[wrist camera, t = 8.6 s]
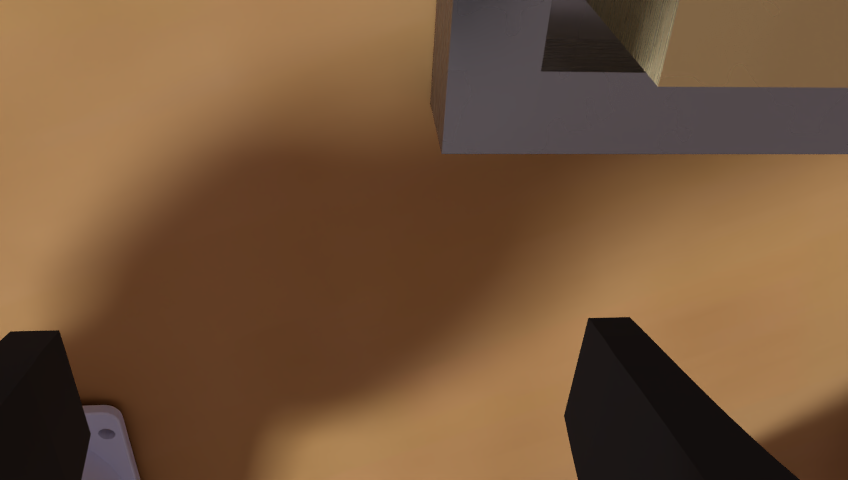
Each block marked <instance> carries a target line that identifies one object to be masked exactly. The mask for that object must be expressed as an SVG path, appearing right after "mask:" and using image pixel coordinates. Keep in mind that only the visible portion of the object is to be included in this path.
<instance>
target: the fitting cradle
mask: <svg viewBox="0 0 848 480" xmlns="http://www.w3.org/2000/svg"><path fill="white" fill-rule="evenodd" d="M430 105H431V109H432V113H433V118H434V122H435V127H436V131H437V135H438V140H439V144H440V149H441V153H442V154H848V88H818V87H658V86H657V85H656V84H655V83H654V81H653V80H652V79H651V78H650V77H649V75H648V74H647V73H646V72H645V71H644V70H643V68H642V67H641V66H640V65H639V64H638V62H637V61H636V60H635V59H634V58H633V56H632V55H631V54H630V53H629V52H628V50H627V49H626V48H625V47H624V46H623V44H622V43H621V42H620V41H619V40H618V38H617V37H616V36H615V35H614V34H613V32H612V31H611V30H610V29H609V28H608V26H607V25H606V24H605V23H604V22H603V21H602V19H601V18H600V17H599V16H598V15H597V13H596V12H595V11H594V10H593V9H592V7H591V6H590V5H589V4H588V3H587V1H586V0H437V4H436V20H435V36H434V53H433V69H432V85H431V101H430Z"/></svg>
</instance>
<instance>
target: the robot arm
mask: <svg viewBox="0 0 848 480" xmlns="http://www.w3.org/2000/svg"><path fill="white" fill-rule="evenodd" d="M564 417H565V422H566V427H567V432H568V437H569V441H570V446H571V451H572V455H573V460H574V464H575V468H576V473H577V477H578V480H799V479H798V478H797V477H796V476H795V475H794V474H792V473H791V472H790V471H789V470H788V469H787V468H786V467H784V466H783V465H782V464H781V463H780V462H779V461H777V460H776V459H775V458H774V457H773V456H772V455H770V454H769V453H768V452H767V451H766V450H765V449H764V448H763V447H762V446H761V445H760V444H758V443H757V442H756V441H755V440H754V439H753V438H752V437H751V436H750V435H749V434H747V433H746V432H745V431H744V430H743V429H742V428H741V427H740V426H739V425H738V424H737V423H736V422H735V421H734V420H733V419H731V418H730V417H729V416H728V415H727V414H726V413H725V412H724V411H723V410H722V409H721V408H720V407H719V406H718V405H717V404H716V403H715V402H714V401H713V400H712V399H711V398H710V397H709V396H708V395H707V394H706V393H705V392H704V391H703V390H702V389H701V388H700V387H699V386H698V385H697V384H696V383H695V382H694V381H693V380H692V379H691V378H690V377H689V376H688V375H687V374H686V373H685V372H684V371H683V370H682V369H681V368H680V367H679V366H678V365H677V364H676V363H675V362H674V361H673V360H672V359H671V358H670V357H669V356H668V355H667V354H666V353H665V352H664V351H663V350H662V349H661V348H660V347H659V346H658V345H657V344H656V343H655V342H654V341H653V340H652V339H651V338H650V337H649V336H648V335H647V334H646V333H645V332H644V331H643V330H642V329H641V328H640V327H639V326H638V325H637V324H636V323H635V322H634V321H633V320H632V319H631V318H630V317H619V318H588V322H587V326H586V330H585V334H584V338H583V342H582V346H581V350H580V354H579V358H578V362H577V366H576V370H575V374H574V378H573V382H572V386H571V390H570V394H569V398H568V402H567V406H566V410H565V415H564ZM109 429H110V430H109ZM0 480H140V476H139V473H138V469H137V466H136V462H135V458H134V455H133V451H132V448H131V444H130V441H129V437H128V433H127V430H126V426H125V423H124V419H123V416H122V414H121V412H120V411H119V410H118V409H117V408H115V407H113V406H110V405H86V406H82V403H81V400H80V397H79V394H78V390H77V387H76V384H75V381H74V377H73V374H72V371H71V368H70V364H69V361H68V358H67V355H66V351H65V348H64V345H63V342H62V338H61V335H60V332H59V330H58V331H15V332H9V333H8V334H7V335H6V336H5V337H4V338H3V339H2V340H1V341H0Z"/></svg>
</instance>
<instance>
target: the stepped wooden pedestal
mask: <svg viewBox="0 0 848 480" xmlns="http://www.w3.org/2000/svg"><path fill="white" fill-rule="evenodd" d="M586 1H587V3H588V4H589V5H590V6H591V7H592V9H593V10H594V11H595V12H596V13H597V15H598V16H599V17H600V18H601V19H602V21H603V22H604V23H605V24H606V25H607V26H608V28H609V29H610V30H611V31H612V32H613V34H614V35H615V36H616V37H617V38H618V40H619V41H620V42H621V43H622V44H623V46H624V47H625V48H626V49H627V50H628V52H629V53H630V54H631V55H632V56H633V58H634V59H635V60H636V61H637V62H638V64H639V65H640V66H641V67H642V68H643V70H644V71H645V72H646V73H647V74H648V75H649V77H650V78H651V79H652V80H653V81H654V83H655V84H656V85H657V86H658V87H818V88H848V0H586Z"/></svg>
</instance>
